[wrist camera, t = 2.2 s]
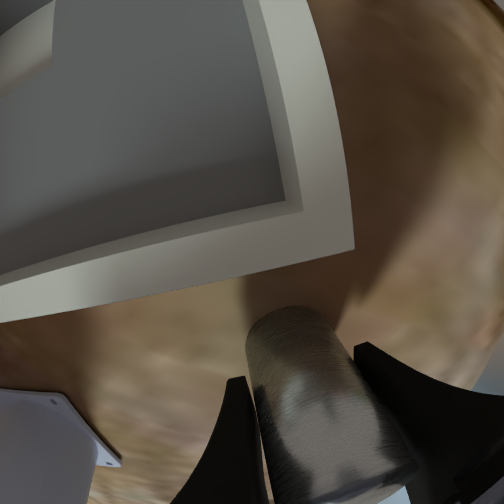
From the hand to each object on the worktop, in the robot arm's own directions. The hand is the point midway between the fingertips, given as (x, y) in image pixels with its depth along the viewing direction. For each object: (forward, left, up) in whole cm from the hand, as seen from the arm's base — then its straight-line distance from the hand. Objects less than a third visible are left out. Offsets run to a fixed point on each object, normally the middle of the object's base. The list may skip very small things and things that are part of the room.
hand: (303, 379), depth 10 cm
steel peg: (0, 0, -2) cm, 2 cm away
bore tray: (-8, +15, -2) cm, 17 cm away
